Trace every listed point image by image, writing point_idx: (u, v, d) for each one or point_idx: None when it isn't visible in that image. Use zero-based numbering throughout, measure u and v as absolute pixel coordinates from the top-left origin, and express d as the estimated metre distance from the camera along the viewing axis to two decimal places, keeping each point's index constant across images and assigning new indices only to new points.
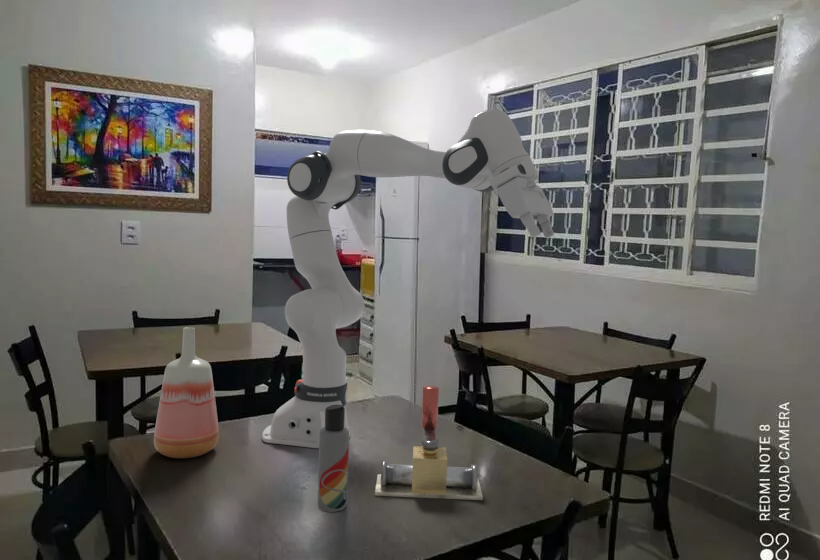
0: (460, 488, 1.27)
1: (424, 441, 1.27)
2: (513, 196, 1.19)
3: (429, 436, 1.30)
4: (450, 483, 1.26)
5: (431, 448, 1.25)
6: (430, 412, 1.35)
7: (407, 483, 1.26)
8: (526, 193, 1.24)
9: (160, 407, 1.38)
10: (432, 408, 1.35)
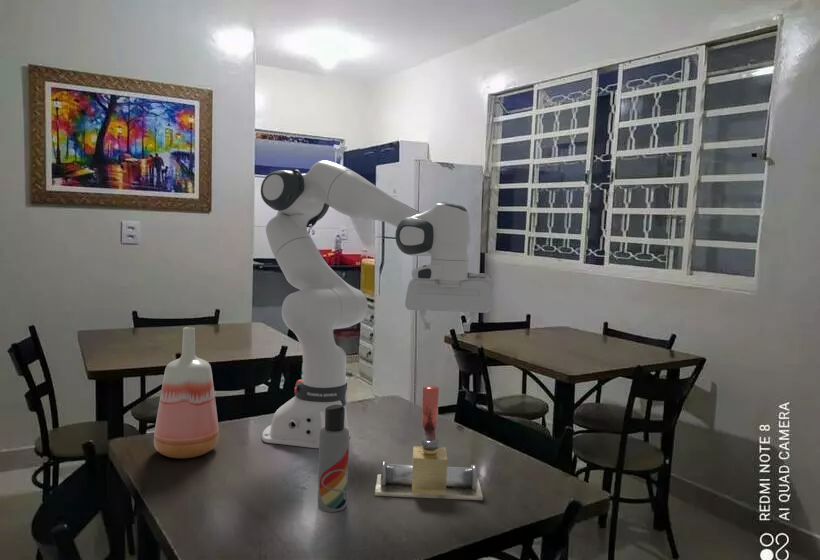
0: (460, 488, 1.27)
1: (424, 441, 1.27)
2: (406, 293, 1.42)
3: (429, 436, 1.30)
4: (450, 483, 1.26)
5: (431, 448, 1.25)
6: (430, 412, 1.35)
7: (407, 483, 1.26)
8: (432, 292, 1.41)
9: (160, 407, 1.38)
10: (432, 408, 1.35)
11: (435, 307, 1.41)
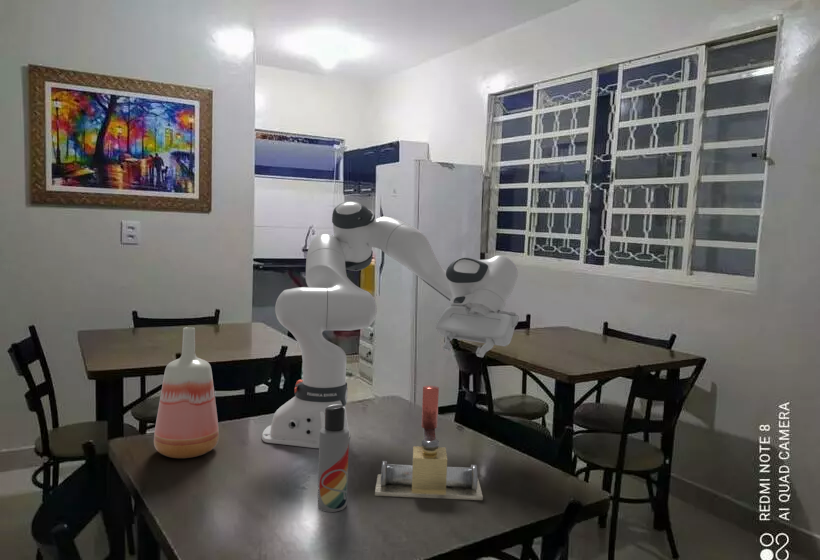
0: (460, 488, 1.27)
1: (424, 441, 1.27)
2: None
3: (429, 436, 1.30)
4: (450, 483, 1.26)
5: (431, 448, 1.25)
6: (430, 412, 1.35)
7: (407, 483, 1.26)
8: (461, 318, 1.52)
9: (160, 407, 1.38)
10: (432, 408, 1.35)
11: (458, 328, 1.50)
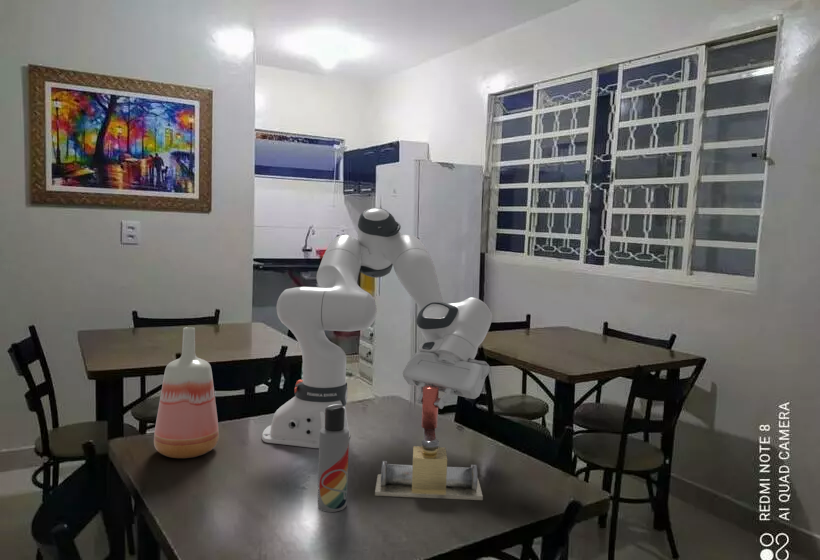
0: (460, 488, 1.27)
1: (424, 441, 1.27)
2: None
3: (429, 436, 1.30)
4: (450, 483, 1.26)
5: (431, 448, 1.25)
6: (430, 412, 1.35)
7: (407, 483, 1.26)
8: (430, 366, 1.42)
9: (160, 407, 1.38)
10: (432, 408, 1.35)
11: (425, 377, 1.40)
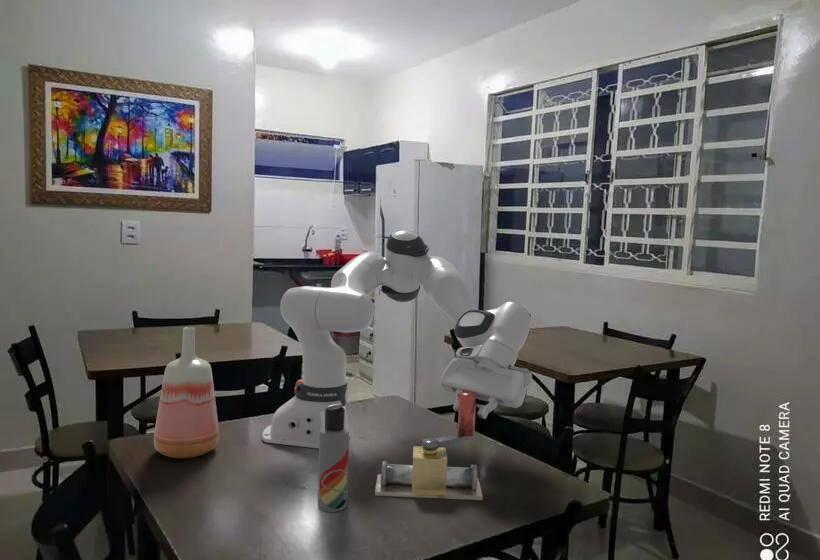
0: (460, 488, 1.27)
1: (425, 439, 1.28)
2: None
3: (441, 438, 1.29)
4: (450, 483, 1.26)
5: (424, 447, 1.26)
6: (461, 418, 1.31)
7: (407, 483, 1.26)
8: (468, 372, 1.38)
9: (160, 407, 1.38)
10: (462, 414, 1.31)
11: (464, 385, 1.35)
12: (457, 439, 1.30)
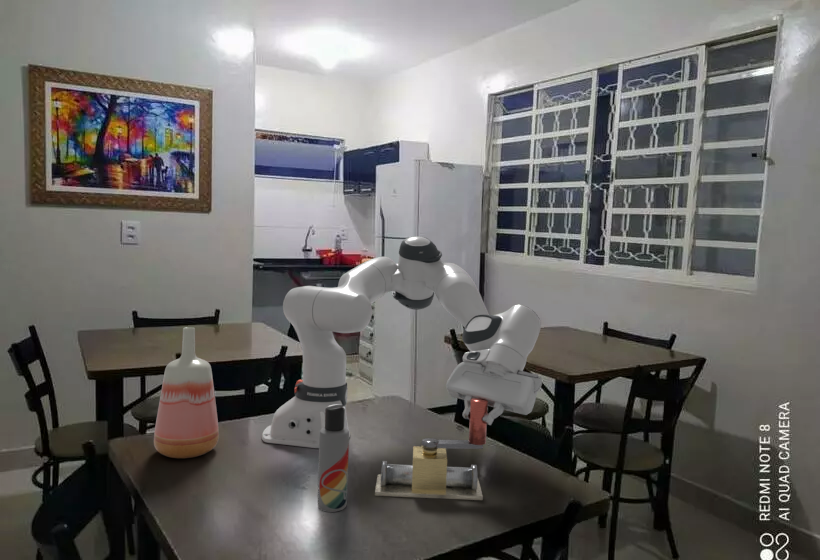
0: (460, 488, 1.27)
1: (427, 439, 1.28)
2: None
3: (445, 441, 1.27)
4: (450, 483, 1.26)
5: None
6: None
7: (407, 483, 1.26)
8: (475, 378, 1.33)
9: (160, 407, 1.38)
10: (470, 421, 1.27)
11: (472, 391, 1.30)
12: (461, 445, 1.26)
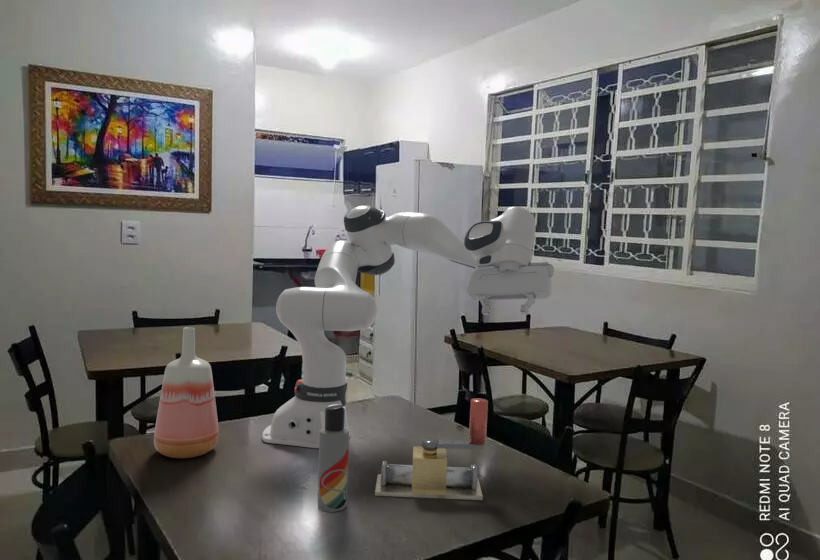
0: (460, 488, 1.27)
1: (428, 439, 1.28)
2: None
3: (445, 441, 1.27)
4: (450, 483, 1.26)
5: None
6: None
7: (407, 483, 1.26)
8: (493, 278, 1.46)
9: (160, 407, 1.38)
10: (470, 421, 1.27)
11: (493, 289, 1.44)
12: (461, 445, 1.26)
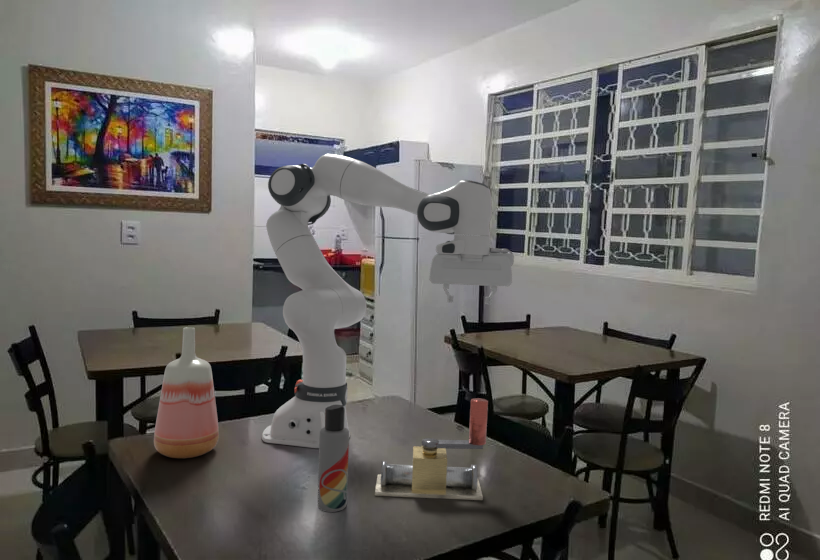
0: (460, 488, 1.27)
1: (428, 439, 1.28)
2: (430, 268, 1.48)
3: (445, 441, 1.27)
4: (450, 483, 1.26)
5: None
6: None
7: (407, 483, 1.26)
8: (456, 266, 1.47)
9: (160, 407, 1.38)
10: (470, 421, 1.27)
11: (458, 281, 1.47)
12: (461, 445, 1.26)
